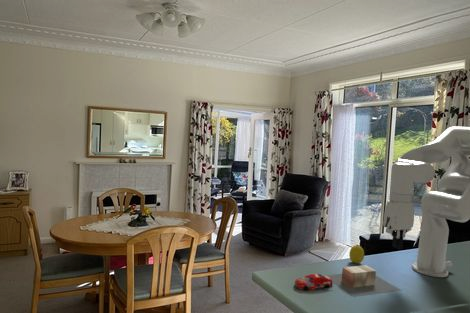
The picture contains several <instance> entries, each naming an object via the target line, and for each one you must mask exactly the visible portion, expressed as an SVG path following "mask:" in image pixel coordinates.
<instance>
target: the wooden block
mask: <svg viewBox="0 0 470 313" xmlns="http://www.w3.org/2000/svg"><path fill="white" fill-rule="evenodd" d="M341 274H342V280H341V281H342V282H343V283H345V284H346V285H348V286H349V287H351V288H353V287H362V286H370V285H375V277H376V276H377V270H375V269H374V268H372V267H370V266H368V265H366V264H365V265H356V266H346V267H345V266H342V273H341Z"/></svg>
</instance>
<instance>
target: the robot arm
mask: <svg viewBox="0 0 470 313" xmlns="http://www.w3.org/2000/svg"><path fill="white" fill-rule="evenodd" d="M469 156H470V126H451V127H448V128H446V129H444V131H443V132H441V133H440V134H439V135H438V136H436V138H434V139H433V140H432V141H431V142H429V143H426V144H424V145H421V146H418V147H415V148H412V149H410V150H407V151H405V152H404V153H403V154H401V155H400V156H399V157H398V158H397V159H396V160H395V161H394V162H393V164H392V165H391V172H390V185H389V187H390V188H389V199H388V200H387V202H386V205H385V208H384V213H383V221H382V222H383V224H382V225H383V227H384V228H385V233H387V234H389V235H391V236H392V243H391V244H392V245H391V246H392V248H395V249H396V250H402V249H403V248H404V239H405V237H406V234H407V233H408V232H410V231H412V228H413V227H414V222H415V207H414V206H415V204H414V197H415V196H414V195H415V194H414V191H415V190H414V189H415V188H414V187H415V184H427V183H430V182H431V181H433V179H434V178H435V176H436V170H435V167H434V166H433V164H439V163H440V164H441V163H443V162H446V161H448V160H449V159H450V158H451V161H450V165H449V166H448V168H447V169H446V171H444V173H443V174H442V176H441V178H440V179H439V181H438V183H437V190H438V191H436V190H431V191H427V192H425V193H424V194H423V195H422V197H421V199H420V205H421V207H420V208H421V223H420V224H421V225H420V231H419V232H420V234H419V242H418V247H417V248H418V250H417V259H416V261H415V262H414V263H412V264H411V268H412V270H414V271H415V272H417V273H420V274H422V275H425V276H428V277H434V278H446V277H448V276H449V271H448V270H447V267H452V266H453V263H452V261H450V260H448V261H446V257H447V248H448V241H449V233H450V229H449V225H448V222H447V220H450V221H452V222H458V223H466V222H468V221H469V220H470V158H469Z"/></svg>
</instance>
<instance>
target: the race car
mask: <svg viewBox="0 0 470 313" xmlns="http://www.w3.org/2000/svg"><path fill="white" fill-rule="evenodd" d="M333 284H334V283H333V282H332V279H331V278H329V277H328V276H325V274H324V275H323V274H321V273H311V274H308V275H305V276H304V277H299V278H297V279H295V281H294V287H295V288H296V289H298V290H302V291H303V292H307V291H312V290H313V291H314V290H329V288H331V287H333Z"/></svg>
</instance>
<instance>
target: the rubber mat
mask: <svg viewBox="0 0 470 313" xmlns="http://www.w3.org/2000/svg"><path fill="white" fill-rule="evenodd" d="M324 275H325V274H324ZM325 276H328V277H329V278H331V279H332V283H333V284H334V285H336V286H337V287H339V288H340V289H342V290H343V291H344V292H346V293H347V294H349V295H351V297H353V298H354V297H361V296H362V297H363V296H370V295H371V296H372V295H377V294H386V293H391V292H399V291H402V289H400V288H398V287H397V286H395V285H393V284H391V283H389V282H388V281H386V280H385V279H383V278H382V277H379V276H377V275H376V277H375V285H370V286H362V287H353V288H351V287H349V286H348V285H346V284H345V283H343V282H342V281H341V280H342V273H337V274H327V275H325Z"/></svg>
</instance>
